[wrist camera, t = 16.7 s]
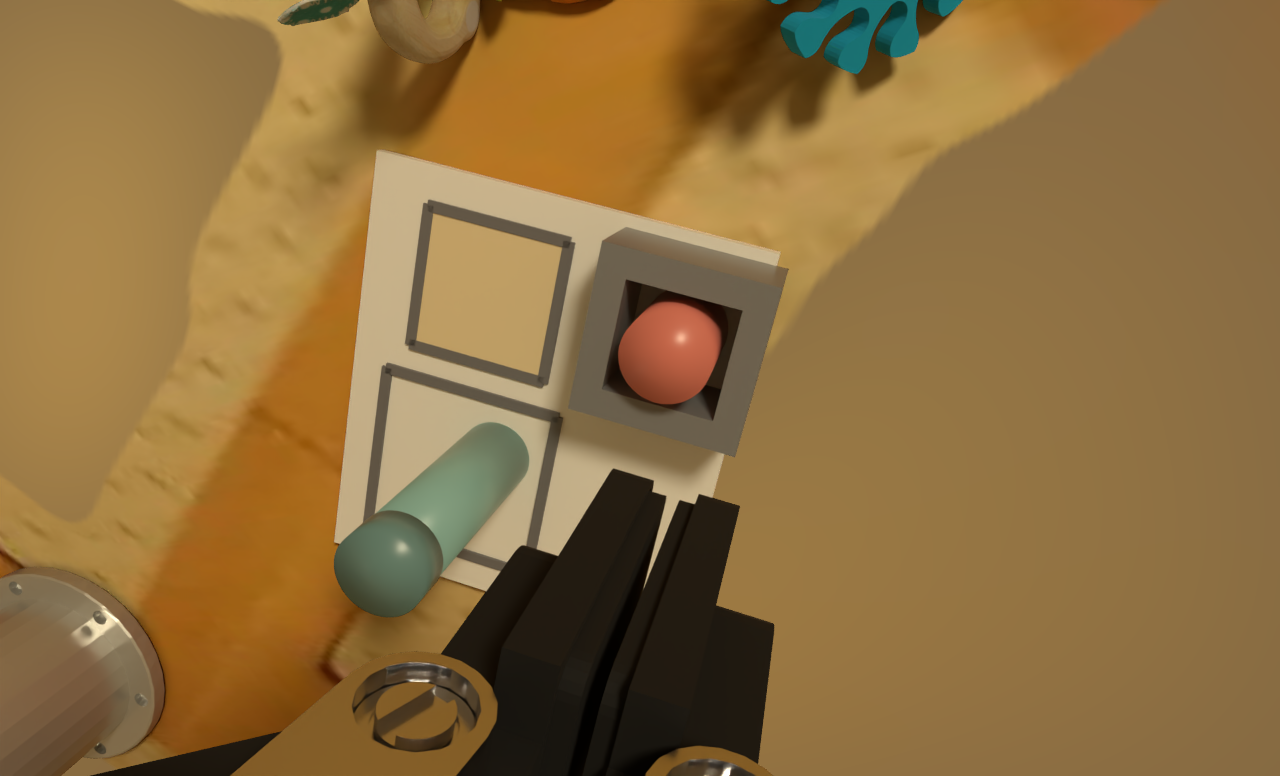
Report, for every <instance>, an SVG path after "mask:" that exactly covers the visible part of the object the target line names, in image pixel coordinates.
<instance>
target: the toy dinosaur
mask: <svg viewBox="0 0 1280 776" xmlns="http://www.w3.org/2000/svg"><path fill="white" fill-rule="evenodd" d="M767 1H770V2H772V3H774V4H781V3H784V2H786V1H788V0H767ZM962 1H963V0H923V6H924V8H925V9H926V10H927V11H929V12H932V13H935V14H937V15H940V16H943V17H944V16H946V15H947V14H949V13H950V12H952V11H953V10H954V9H955V8H956V7H957V6H958V5H959V4H960V3H961V2H962ZM917 2H918V0H822V1H821V3H820V5H819V6H818V7H817V8H816V9H815V10H814V11H812V12H794V13H791V14H790V15H788V16H787V17H786V18H785V19H784V21H783V22H782V24H781V26H780V27H781V33H782V36H783V39H784V41H785V43H786V45H787V46H788V47H789V49H790V50H791V52H794V53H796V54H798V55H800V56H802V57H804V58H808V57H810V56H812V55H813V54H814V53H815V52H817V50H818V49H819V47H820V46H821V44H822V42H823V40H824V38H825V36H826V35H827V33H828V32H829V30H830V29H831V28H832V27H833V26H834V24H836V23H837V22H838V21H839V20H840V19H841V18H842V17H844V16H845V15H847V14H848V13H850V12H851V11H853V10H854V17H853V20H852V23H851V24H850V26H849V27H848V28H847V29H846V30H844V31H843V32H841V33H839V34H838V35H836V36H835V37H833V38H832V39H831V40H830V41H829V43H828V44H827V46H826V48H825V52H824V58H825V59H826V60H827V61H828V62H830V63H831V64H833V65H835V66H837V67H839V68H841V69H844V70H846V71H848V72H851V73H855V74H858V73H859V72H860V71H861V70H862V68H863V67H864V65H865V63H866V60H867V56H868V49H869V45H870V41H871V38H872V35H873V33H874V31H875V29H876V27H877V25H878V23H879V22H880V20H881V19H882V17H883V16H884V14H885V13H886V11H887V10H888V9H889V7H890V6H891V5H892V9H891V13H890V15H889V17H888V18H887V20H886V21H885V23H884V24H883V25H882V27H881V28H880V30H879V32H878V34H877V37H876V41H875V47H876V50H877V51H879V52H881V53H884V54H886V55H888V56H890V57H901V56H904V55H907V54H910V53H912V52H914V51H915V49H916V47H917V44H918V40H919V33H918V30H917V25H916V8H917Z"/></svg>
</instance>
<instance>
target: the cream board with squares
mask: <svg viewBox="0 0 1280 776" xmlns="http://www.w3.org/2000/svg"><path fill="white" fill-rule="evenodd" d="M625 227H629V228H632V229H636V230H640V231H644V232H648V233H652V234H655V235H659V236H663V237H667V238H671V239H675V240H678V241H682V242H686V243H690V244H694V245H698V246H702V247H705V248H709V249H713V250H717V251H721V252H725V253H728V254H732V255H736V256H740V257H744V258H748V259H752V260H755V261H759V262H763V263H767V264H771V265H775V266H777V264H778V260H779V257H780V253H781V252H779V251H775V250H771V249H767V248H764V247H760V246H756V245H752V244H748V243H744V242H740V241H736V240H733V239H729V238H725V237H721V236H717V235H713V234H709V233H705V232H701V231H698V230H694V229H690V228H686V227H682V226H678V225H674V224H670V223H667V222H663V221H659V220H655V219H651V218H647V217H643V216H639V215H636V214H632V213H628V212H624V211H620V210H616V209H612V208H608V207H605V206H601V205H597V204H593V203H589V202H585V201H581V200H577V199H574V198H570V197H566V196H562V195H558V194H554V193H550V192H546V191H543V190H539V189H535V188H531V187H527V186H523V185H519V184H515V183H511V182H508V181H504V180H500V179H496V178H492V177H488V176H484V175H480V174H477V173H473V172H469V171H465V170H461V169H457V168H453V167H449V166H446V165H442V164H438V163H434V162H430V161H426V160H422V159H418V158H415V157H411V156H407V155H403V154H399V153H395V152H391V151H387V150H384V149H383V150H377V153H376V162H375V171H374V180H373V190H372V199H371V208H370V217H369V227H368V236H367V245H366V254H365V263H364V273H363V282H362V291H361V300H360V309H359V319H358V328H357V337H356V346H355V356H354V365H353V374H352V383H351V392H350V402H349V411H348V420H347V429H346V438H345V448H344V457H343V466H342V475H341V484H340V494H339V503H338V512H337V521H336V531H335V540H334V542H335V543H338V544H340V543H341V542H342V541H343V540H344V539H345V538H346V537H347V536H348V535H349V534H351V533H352V532H353V531H354V530H355V529H356V528H357V527H359V526H360V525H361V524H362V523H363V522H364V521H365V520H367V519H368V518H369V517H370V516H372V515H374V514H375V513H377V512H378V511H379V510H380V509H381V508H382V507H383V506H384V505H386V504H387V503H388V502H389V501H390V500H391V499H392V498H394V497H395V496H396V495H397V494H398V493H399V492H400V491H401V490H403V489H404V488H405V487H406V486H407V485H408V484H409V483H411V482H412V481H413V480H414V479H415V478H416V477H417V476H418V475H420V474H421V473H422V472H423V471H424V470H425V469H426V468H428V467H429V466H430V465H431V464H432V463H433V462H434V461H435V460H437V459H438V458H439V457H440V456H441V455H442V454H443V453H445V452H446V451H447V450H448V449H449V448H450V447H451V446H453V445H454V444H455V443H456V442H457V441H458V440H459V439H460V438H462V437H463V436H464V435H465V434H466V433H467V432H468V431H470V430H471V429H472V428H473V427H475V426H477V425H479V424H481V423H486V422H495V423H500V424H503V425H505V426H507V427H509V428H511V429H512V430H514V431H515V432H516V433H517V434H518V435H519V436H520V437H521V438H522V440H523V441H524V443H525V445H526V447H527V450H528V453H529V467H528V471H527V473H526V475H525V477H524V478H523V479H522V481H521V482H520V483H519V484H518V485H517V486H516V488H515V489H514V490H513V491H512V492H511V493H510V495H509V496H508V497H507V498H506V499H505V500H504V502H503V503H502V504H501V505H500V506H499V507H498V509H497V510H496V511H495V512H494V513H493V514H492V516H491V517H490V518H489V519H488V520H487V521H486V523H485V524H484V525H483V526H482V527H481V528H480V530H479V531H478V532H477V533H476V534H475V535H474V537H473V538H472V539H471V540H470V541H469V542H468V544H467V545H466V546H465V547H464V548H463V549H462V551H461V552H460V553H459V554H458V555H457V556H456V558H455V559H454V560H453V561H452V562H451V564H450V565H449V566H448V567H447V568H446V569H445V571H444V572H443V573H442V574H441V575H440V576H441V577H444V578H447V579H450V580H453V581H456V582H459V583H462V584H465V585H468V586H472V587H475V588H478V589H481V590H484V591H487V590H488V588H489V587H490V585H491V584H492V583H493V581H494V580H495V578H496V577H497V576H498V574H499V573H500V572H501V570H502V569H503V567H504V566H505V565H506V563H507V562H508V560H509V559H510V558H511V556H512V555H513V554H514V552H515V551H516V550H517V549H518V548H519V547H520V546H521V545H525V546H528V547H532V548H535V549H538V550H541V551H544V552H547V553H551V554H554V555H557V556H559V554H560V552H561V551H562V549H563V547H564V546H565V544H566V543H567V541H568V539H569V538H570V536H571V535H572V533H573V531H574V530H575V528H576V526H577V525H578V523H579V522H580V520H581V518H582V517H583V515H584V514H585V512H586V510H587V509H588V507H589V505H590V504H591V502H592V501H593V499H594V497H595V496H596V494H597V492H598V491H599V489H600V488H601V486H602V484H603V483H604V481H605V480H606V478H607V476H608V475H609V473H610V471H611V470H612V469H613V468H614V469H617V470H621V471H624V472H627V473H631V474H634V475H638V476H641V477H644V478H648V479H651V480H654V485H653V491H652V492H655V493H659V494H662V495H665V496H667V497H666V503H665V507H664V511H663V515H662V519H661V523H660V527H659V530H658V534H657V538H656V542H655V546H654V550H653V554H652V558H651V562H650V565H649V569H648V573H647V577H646V581H645V584H646V582H647V579H648V577H649V574H650V572H651V569H652V567H653V564H654V562H655V559H656V557H657V554H658V552H659V549H660V547H661V544H662V542H663V539H664V537H665V534H666V532H667V529H668V527H669V524H670V522H671V519H672V517H673V514H674V512H675V509H676V507H677V504H678V502H679V500H682V501H685V502H689V503H692V504H695V503H696V500H697V497H698V495H699V494H701V495H705V496H708V497H711V498H712V497H713V494H714V490H715V487H716V483H717V479H718V476H719V472H720V468H721V465H722V461H723V458H724V454H722V453H719V452H716V451H712V450H709V449H705V448H702V447H698V446H695V445H692V444H688V443H685V442H681V441H678V440H674V439H671V438H667V437H664V436H661V435H657V434H654V433H650V432H647V431H643V430H640V429H636V428H633V427H630V426H626V425H623V424H619V423H616V422H612V421H609V420H606V419H602V418H599V417H595V416H592V415H588V414H585V413H581V412H578V411H575V410H571V409H568V405H569V400H570V395H571V390H572V386H573V381H574V376H575V371H576V366H577V361H578V356H579V351H580V346H581V342H582V337H583V332H584V327H585V322H586V317H587V312H588V307H589V302H590V297H591V293H592V288H593V283H594V278H595V273H596V268H597V263H598V258H599V253H600V248H601V244H602V240H604V239H606V238H608V237H609V236H611V235H613V234H614V233H616V232H618V231H620V230H621V229H623V228H625ZM664 291H666V290H664V289H660V288H657V287H653V286H649V285H645V284H642V286H641V291H640V295H639V300H638V304H637V309H636V313H635V318H634V321H635V320H636V319H637V318H638V317H639V316H640V315H641V314H642V312H643V311H644V310H645V309H646V308H647V307H648V306H649V305H650V304H651V303H652V302H653V301H654V300H655V299H656V298H657V297H658V296H659V295H660V294H661V293H663V292H664ZM722 307H723V309H724V311H725V313H726V316H727V320H728V336H727V340H726V343H725V345H724V347H723V349H722V351H721V354H720V356H719V358H718V360H717V362H716V364H715V366H714V368H713V371H712V373H711V375H710V377H709V379H708V381H707V383H706V384H705V385H708V386H712V387H715V388H719V389H722V386H723V382H724V379H725V375H726V371H727V367H728V364H729V360H730V356H731V353H732V349H733V345H734V341H735V338H736V334H737V330H738V327H739V323H740V319H741V315H742V312H743V311H742V310H739V309H735V308H731V307H727V306H724V305H722ZM644 587H645V585H644Z"/></svg>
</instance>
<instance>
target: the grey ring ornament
mask: <svg viewBox="0 0 1280 776" xmlns="http://www.w3.org/2000/svg"><path fill="white" fill-rule="evenodd" d="M358 1H359V0H302V1H300V2H298V3H296V4H295V5H293V6H291V7H290V8H288V9H287V10H286V11H285V12H283V13H282V14H281V15H280V16H279V17H278V19H277V20H278V21H279V22H280V23H281V24H285V25H292V26H295V25H299V24H304V23H310V22H315V21H321V20H325V19H329V18H333V17H337V16H339V15H341V14H343V13H345V12H349V9H350V8H351V7H352V6H354V5H355V4H356V3H357V2H358ZM497 1H500V2H501V1H502V0H497ZM550 1H553V2H558V3H575V2H580V1H585V0H550ZM368 4H369V9H370V13H371V16H372V19H373V22H374V25H375V27H376V29H377V31H378V32H379V34H380V36H381V37H382V39H383V40H384V41H385V42H386V43H387V44H388V45H389V46H390V47H391V48H392V49H393V50H394V51H396V52H397V53H398V54H400V55H401V56H403V57H405V58H407V59H409V60H412V61H415V62H419V63H437V62H441V61H443V60H445V59H447V58H449V57H450V56H452V55H453V54H454V53H456V52H457V51H458V50H459V48H460V47H461V46H462V44H463V43H464V42H466V41H468V40H470V39H471V38H472V37H473V36H474V34H475V32H476V30H477V27H478V24H479V15H480V0H432V5H431V9H430V12H429V15H428V17H427V18H426V19H424V17H423V15H422V13H421V10H420V8H419V4H418V1H417V0H368Z"/></svg>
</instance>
